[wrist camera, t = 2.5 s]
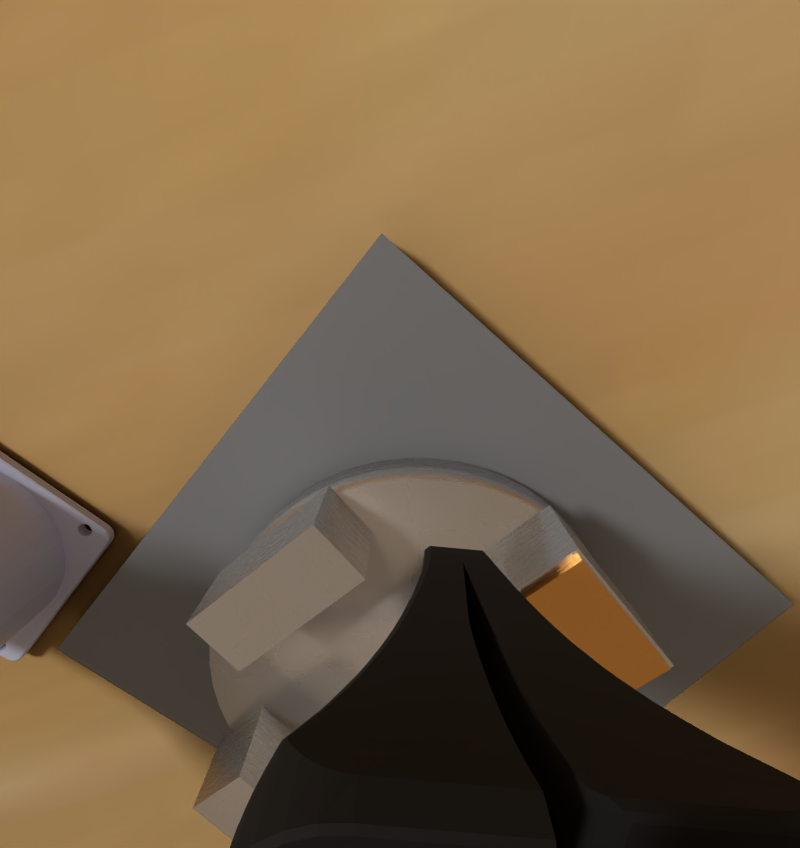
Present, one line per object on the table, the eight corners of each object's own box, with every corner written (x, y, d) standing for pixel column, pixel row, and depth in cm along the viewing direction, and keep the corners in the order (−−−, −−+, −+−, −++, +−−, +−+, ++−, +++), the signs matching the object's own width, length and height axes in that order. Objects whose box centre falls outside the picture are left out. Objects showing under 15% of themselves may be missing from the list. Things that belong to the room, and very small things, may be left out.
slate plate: (81, 623, 20) (53, 652, 19) (383, 238, 16) (381, 233, 14) (436, 848, 24) (438, 888, 22) (764, 580, 19) (797, 606, 18)
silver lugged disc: (148, 649, 18) (64, 766, 14) (392, 360, 15) (386, 391, 11) (433, 831, 21) (440, 981, 16) (694, 615, 18) (792, 727, 13)
